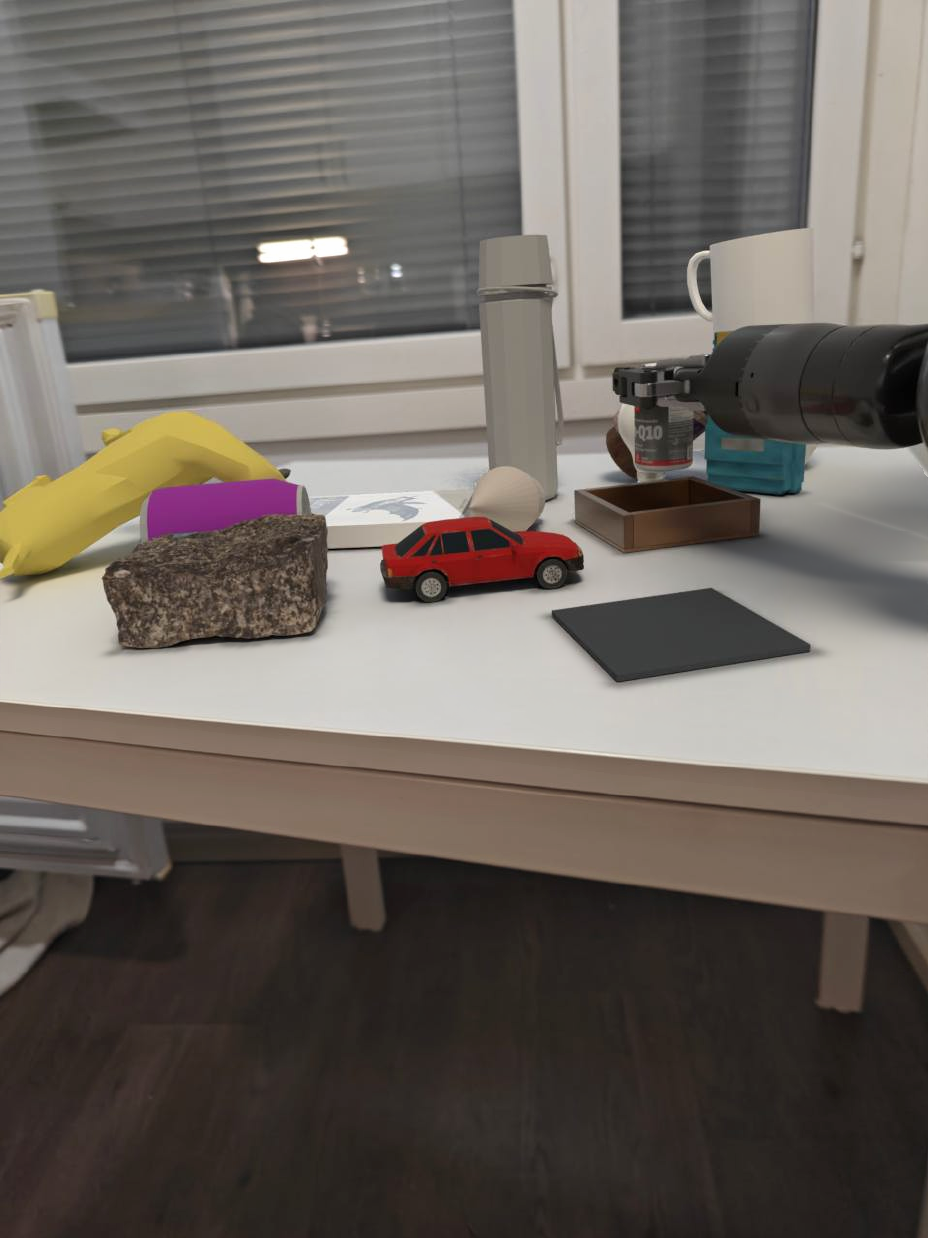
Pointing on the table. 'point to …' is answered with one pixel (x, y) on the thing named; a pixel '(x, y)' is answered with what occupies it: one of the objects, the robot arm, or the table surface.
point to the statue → (118, 487)
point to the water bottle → (520, 357)
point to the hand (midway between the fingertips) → (644, 377)
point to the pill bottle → (663, 437)
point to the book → (386, 515)
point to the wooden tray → (666, 513)
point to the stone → (222, 582)
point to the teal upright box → (752, 459)
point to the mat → (674, 633)
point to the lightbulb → (628, 436)
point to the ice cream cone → (508, 498)
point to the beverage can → (218, 505)
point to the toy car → (476, 556)
